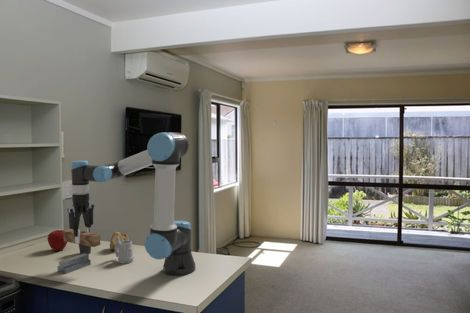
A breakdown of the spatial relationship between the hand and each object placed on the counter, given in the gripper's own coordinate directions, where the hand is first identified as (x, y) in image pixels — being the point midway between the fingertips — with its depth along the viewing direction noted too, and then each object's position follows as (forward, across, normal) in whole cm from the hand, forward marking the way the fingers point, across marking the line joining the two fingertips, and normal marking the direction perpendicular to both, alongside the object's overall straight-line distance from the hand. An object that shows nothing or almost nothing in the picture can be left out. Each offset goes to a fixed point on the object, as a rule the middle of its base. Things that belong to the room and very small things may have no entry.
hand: (82, 241), depth 184 cm
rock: (+14, -31, -9) cm, 35 cm away
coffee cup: (+14, -17, -20) cm, 30 cm away
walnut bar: (+1, 0, 0) cm, 1 cm away
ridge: (+14, +1, -5) cm, 14 cm away
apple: (+14, -14, -39) cm, 44 cm away
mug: (+14, -18, +8) cm, 24 cm away
